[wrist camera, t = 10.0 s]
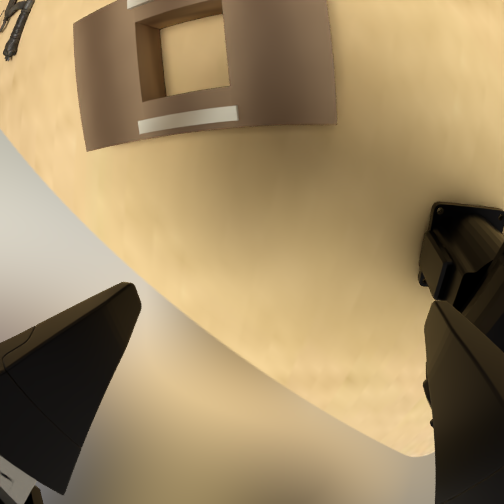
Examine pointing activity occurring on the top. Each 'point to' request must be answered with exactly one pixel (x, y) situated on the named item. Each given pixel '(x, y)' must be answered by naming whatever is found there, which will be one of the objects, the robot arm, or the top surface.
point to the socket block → (210, 100)
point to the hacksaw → (15, 35)
